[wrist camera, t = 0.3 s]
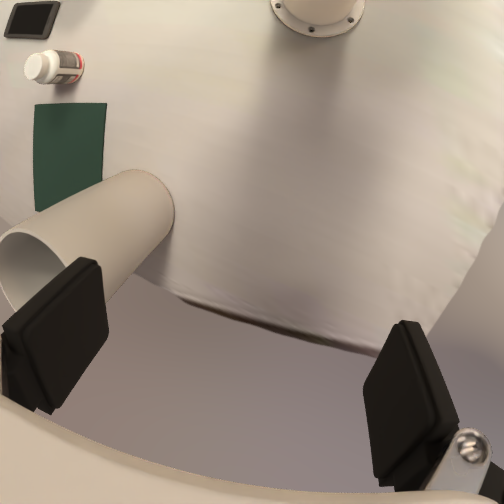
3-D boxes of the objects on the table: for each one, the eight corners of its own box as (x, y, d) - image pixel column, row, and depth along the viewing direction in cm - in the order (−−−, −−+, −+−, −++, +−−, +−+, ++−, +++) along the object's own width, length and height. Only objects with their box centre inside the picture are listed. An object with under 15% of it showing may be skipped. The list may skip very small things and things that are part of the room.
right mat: (36, 104, 42) (34, 104, 42) (107, 103, 41) (105, 103, 41) (36, 210, 51) (35, 210, 50) (102, 223, 50) (100, 224, 50)
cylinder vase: (174, 250, 50) (95, 355, 28) (107, 238, 51) (11, 323, 29) (177, 172, 45) (74, 239, 22) (105, 166, 46) (-15, 221, 23)
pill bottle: (66, 51, 38) (26, 47, 29) (89, 55, 38) (50, 50, 29) (57, 81, 40) (17, 82, 31) (79, 86, 40) (39, 87, 32)
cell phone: (16, 3, 33) (14, 3, 32) (61, 1, 34) (59, 0, 33) (5, 37, 36) (2, 37, 35) (48, 39, 37) (45, 38, 36)
